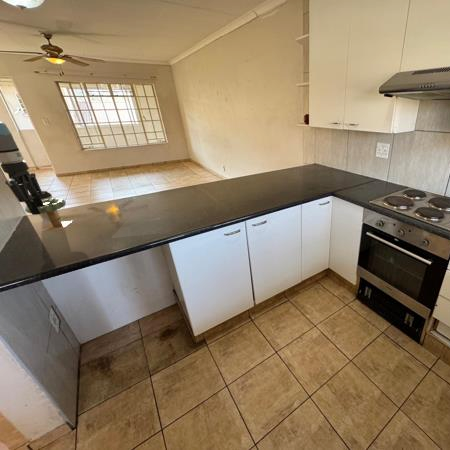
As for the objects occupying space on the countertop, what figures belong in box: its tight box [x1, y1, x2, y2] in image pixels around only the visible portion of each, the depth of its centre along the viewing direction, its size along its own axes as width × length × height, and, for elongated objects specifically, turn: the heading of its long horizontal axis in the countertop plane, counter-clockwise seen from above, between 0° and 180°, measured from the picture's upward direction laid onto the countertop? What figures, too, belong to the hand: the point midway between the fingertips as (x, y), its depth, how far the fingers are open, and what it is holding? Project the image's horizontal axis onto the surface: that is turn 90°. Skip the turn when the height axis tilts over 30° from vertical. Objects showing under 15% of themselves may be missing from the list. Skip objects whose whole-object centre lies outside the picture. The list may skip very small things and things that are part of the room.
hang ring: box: [24, 197, 67, 214], centre depth 118 cm, size 14×14×3 cm
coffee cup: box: [29, 190, 60, 222], centre depth 131 cm, size 9×9×15 cm
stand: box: [40, 202, 73, 232], centre depth 121 cm, size 9×9×14 cm
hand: (39, 212), depth 114 cm, fingers closed on hang ring, 3 cm apart
